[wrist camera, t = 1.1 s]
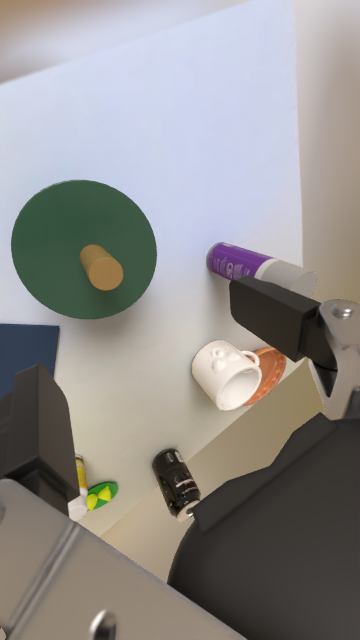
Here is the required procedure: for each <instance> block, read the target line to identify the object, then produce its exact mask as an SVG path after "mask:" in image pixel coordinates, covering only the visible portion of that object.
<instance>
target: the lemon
mask: <svg viewBox="0 0 360 640" xmlns="http://www.w3.org/2000/svg"><path fill="white" fill-rule="evenodd" d="M117 490H118V486H117V485H116V484H114V483H105V484H101V485H98V486H96V487H94V488H92V489H91V490H89V491H88V495H87V498H86V501H87V508H88V509H87V511H89V510H90V511H92V510H93V509H96V508H99V507H101V506H103V505H104V504H106V503H107V502H109V501H110V500H111V499H112V498H113V497H114V496H115V494H116V493H117Z"/></svg>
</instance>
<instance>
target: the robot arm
mask: <svg viewBox="0 0 360 640" xmlns="http://www.w3.org/2000/svg"><path fill="white" fill-rule="evenodd" d="M229 292H230V309H231V314H232V316H233V318H234V320H235V321H236V322H237V323H239V324H240V325H241V326H243V327H244V328H246V329H247V330H249V331H250V332H252V333H253V334H254V335H256V336H257V337H259V338H260V339H262V340H263V341H265V342H266V343H267V344H269V345H270V346H272V347H273V348H275V349H276V350H278V351H279V352H280V353H282V354H283V355H285V356H286V357H288V358H289V359H291V360H292V361H293V362H295V363H296V362H297V361H299V360H301V359H302V358H304V357H305V356H306V357H308V358H309V367H310V370H311V373H312V376H313V378H314V381H315V384H316V386H317V389H318V392H319V395H320V397H321V400H322V403H323V406H324V415H323V414H322V413H321V412H320V413H318V414H317V415H316V416H314V417H313V418H311V419H310V420H309V421H308V422H306V423H305V424H303V425H302V426H301V427H299V428H298V429H297V430H295V431H294V432H293V433H292V435H291V436H290V438H289V439H288V441H287V442H286V444H285V445H284V447H283V448H282V450H281V451H280V453H279V454H278V456H277V457H276V459H275V460H274V462H273V463H272V464H271V465H270V466H268V467H266V468H263V469H260V470H257V471H254V472H252V473H249V474H246V475H243V476H240V477H237V478H234V479H232V480H229V481H227V482H226V483H224V484H223V485H221V486H220V487H219V488H217V489H216V490H215V491H213V492H212V493H211V494H209V495H208V496H207V497H205V498H204V499H203V500H201V501H200V502H198V503H197V504H196V505H194V506H193V507H192V508H190V509H191V512H192V514H193V516H194V519H195V520H194V522H193V523H192V524H191V526H190V527H189V529H188V530H187V532H186V533H185V535H184V537H183V539H182V540H181V542H180V545H179V547H178V549H177V552H176V554H175V556H174V559H173V562H172V565H171V569H170V572H169V576H168V581H167V584H166V583H165V582H163V581H162V580H160V579H159V578H157V577H156V576H154V575H153V574H151V573H150V572H149V571H147V570H146V569H144V568H143V567H141V566H140V565H138V564H137V563H135V562H134V561H133V560H131V559H130V558H128V557H127V556H125V555H124V554H122V553H121V552H119V551H118V550H116V549H115V548H113V547H112V546H111V545H109V544H108V543H106V542H105V541H103V540H102V539H100V538H99V537H98V536H96V535H95V534H93V533H92V532H90V531H89V530H87V529H86V528H84V527H83V526H81V525H80V524H78V523H77V522H75V521H73V520H72V519H70V518H69V509H68V503H69V502H71V501H72V500H74V499H76V498H77V497H79V496H80V495H81V494H80V487H79V480H78V473H77V465H76V458H75V451H74V443H73V436H72V429H71V422H70V414H69V407H68V403H67V400H66V397H65V395H64V393H63V392H62V390H61V389H60V387H59V386H58V385H57V383H56V382H55V380H54V379H53V378H52V376H51V375H50V374H49V372H48V371H47V369H46V368H45V367H44V366H43V365H42V364H41V363H38V364H36V365H34V366H31V367H29V368H27V369H24V370H22V371H20V372H17V373H16V374H15V378H14V386H13V391H12V392H9V393H7V394H5V395H4V396H3V398H2V399H1V401H0V628H1V627H2V629H3V630H4V632H5V634H6V639H5V640H360V304H358V303H356V302H352V301H348V300H340V299H335V300H329V301H325V302H323V303H320V302H317V301H315V300H313V299H310V298H308V297H305V296H303V295H301V294H298V293H296V292H293V291H290V290H289V289H286V288H282V286H279V285H277V284H274V283H272V282H266V281H261V280H259V279H257V278H254V277H252V276H250V275H243V276H241V277H239V278H237V279H234V280H232V281H231V282H230V284H229Z"/></svg>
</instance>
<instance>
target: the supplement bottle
mask: <svg viewBox="0 0 360 640" xmlns="http://www.w3.org/2000/svg"><path fill="white" fill-rule="evenodd" d="M75 458H76V465H77V473H78V480H79V487H80V494H81V495H80V496H79V497H77V498H76V499H74V500H72V501H71V502H69V503H68V509H69V518H70V519H72V520H73V521H75V522H76V521H78V520H79V519H81V518H82V517H83V516H84V515H85V514H86V513H87V509H88V508H87V501H86V498H87V495H88V489H87V483H86V477H85V470H84V464H83V459H82V457H81V456H79V455H75Z"/></svg>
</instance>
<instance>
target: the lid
mask: <svg viewBox="0 0 360 640" xmlns="http://www.w3.org/2000/svg"><path fill="white" fill-rule="evenodd" d="M11 251H12V258H13V263H14V266H15V268H16V271H17V274H18V276H19V278H20V279H21V281H22V283H23V284H24V286H25V287H26V288H27V290H28V291H29V292H30V293H31V294H32V295H33V296H34V297H35V298H36V299H37V300H38V301H39V302H41V303H42V304H43V305H45V306H46V307H48V308H49V309H51V310H53V311H55V312H57V313H60V314H63V315H65V316H69V317H73V318H79V319H99V318H104V317H109V316H112V315H115V314H117V313H119V312H121V311H123V310H125V309H127V308H128V307H130V306H131V305H132V304H134V303H135V302H136V301H137V300H138V299H139V298H140V297H141V296H142V295H143V293H144V292H145V291H146V289H147V287H148V286H149V284H150V282H151V280H152V277H153V274H154V271H155V267H156V259H157V249H156V241H155V237H154V234H153V230H152V228H151V226H150V223H149V221H148V220H147V218H146V216H145V215H144V213H143V212H142V211H141V209H140V208H139V207H138V206H137V205H136V204H135V203H134V202H133V201H132V200H131V199H130V198H129V197H127V196H126V195H125V194H123V193H122V192H120V191H118V190H117V189H115V188H113V187H110V186H108V185H106V184H102V183H99V182H95V181H89V180H70V181H63V182H60V183H56V184H53V185H51V186H49V187H47V188H44V189H43V190H41V191H40V192H38V193H37V194H35V195H34V196H33V197H32V198H31V199H30V200H29V201H28V202H27V203H26V204H25V206H24V207H23V209H22V210H21V211H20V213H19V215H18V217H17V219H16V221H15V225H14V228H13V231H12V239H11Z"/></svg>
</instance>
